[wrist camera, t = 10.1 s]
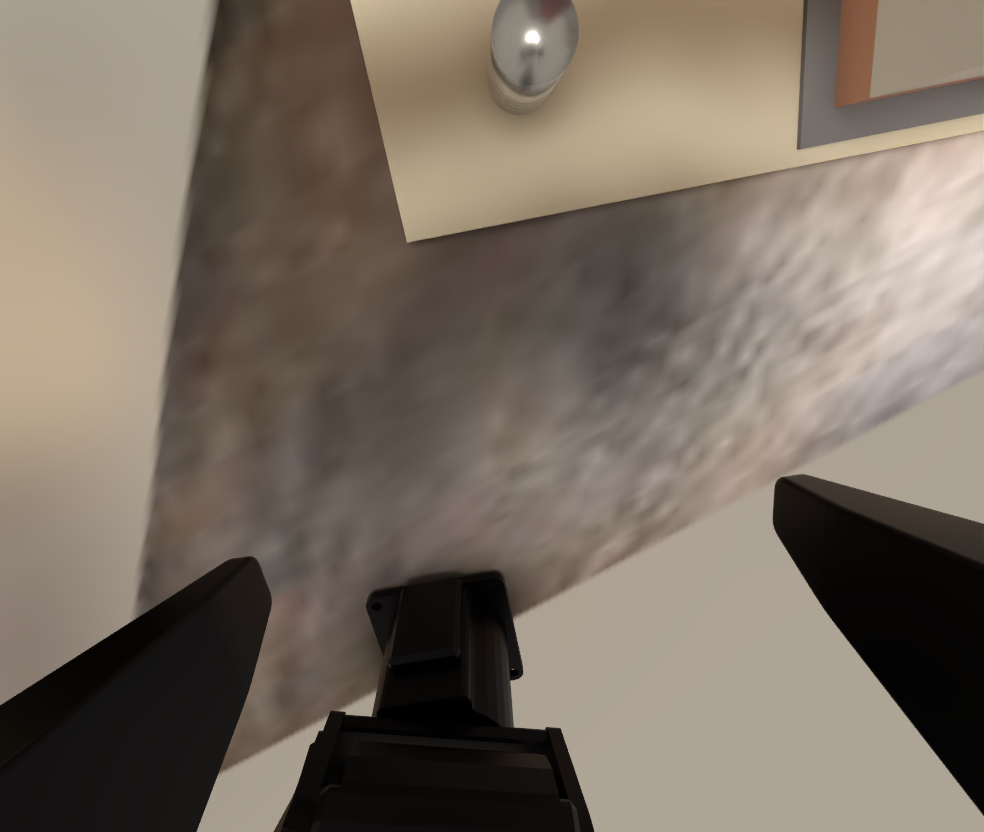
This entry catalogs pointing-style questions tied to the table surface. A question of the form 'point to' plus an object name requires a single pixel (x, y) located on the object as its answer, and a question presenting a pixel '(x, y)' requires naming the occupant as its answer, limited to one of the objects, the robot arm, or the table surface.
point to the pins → (530, 51)
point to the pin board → (623, 106)
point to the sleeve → (907, 47)
